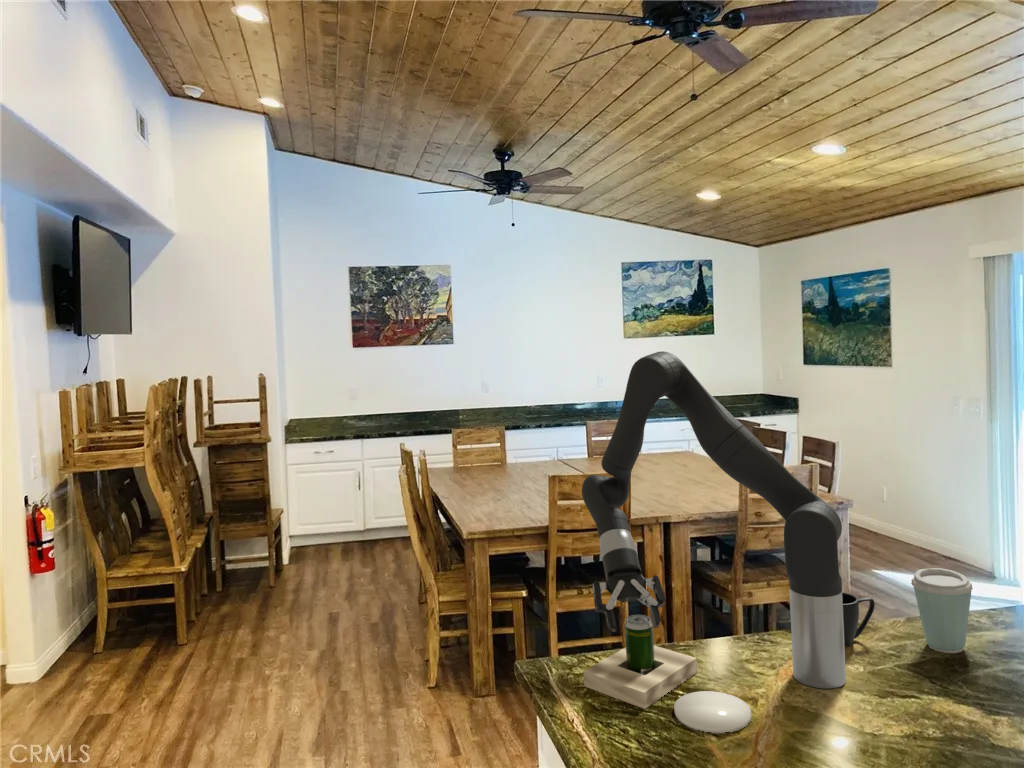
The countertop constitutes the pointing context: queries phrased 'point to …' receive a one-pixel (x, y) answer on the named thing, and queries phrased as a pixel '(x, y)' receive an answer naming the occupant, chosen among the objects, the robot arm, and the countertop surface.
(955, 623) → the disposable coffee cup
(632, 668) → the beer can
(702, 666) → the countertop surface
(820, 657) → the robot arm
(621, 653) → the beige rectangular frame
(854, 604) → the mug
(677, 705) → the white round disc
